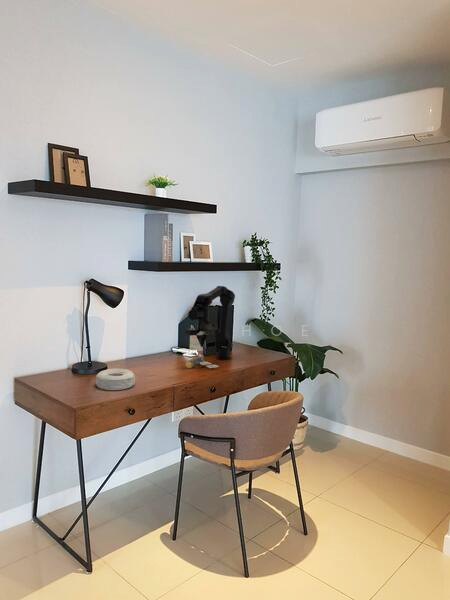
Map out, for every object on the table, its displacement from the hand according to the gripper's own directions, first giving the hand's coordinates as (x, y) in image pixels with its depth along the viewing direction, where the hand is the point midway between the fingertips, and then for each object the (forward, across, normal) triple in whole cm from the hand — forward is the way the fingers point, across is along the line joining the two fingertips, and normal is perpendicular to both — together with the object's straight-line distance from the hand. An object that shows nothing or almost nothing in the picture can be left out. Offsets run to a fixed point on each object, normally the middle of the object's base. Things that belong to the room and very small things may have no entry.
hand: (201, 346), depth 260 cm
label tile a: (+11, +5, +4) cm, 12 cm away
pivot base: (+11, +5, +8) cm, 15 cm away
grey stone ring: (+11, -54, -11) cm, 57 cm away
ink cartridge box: (+11, +14, +26) cm, 31 cm away
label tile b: (+11, +5, -4) cm, 12 cm away
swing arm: (+10, -1, +4) cm, 11 cm away
